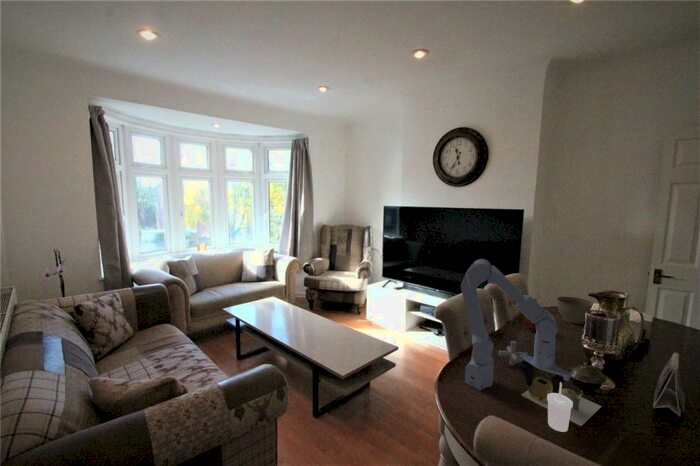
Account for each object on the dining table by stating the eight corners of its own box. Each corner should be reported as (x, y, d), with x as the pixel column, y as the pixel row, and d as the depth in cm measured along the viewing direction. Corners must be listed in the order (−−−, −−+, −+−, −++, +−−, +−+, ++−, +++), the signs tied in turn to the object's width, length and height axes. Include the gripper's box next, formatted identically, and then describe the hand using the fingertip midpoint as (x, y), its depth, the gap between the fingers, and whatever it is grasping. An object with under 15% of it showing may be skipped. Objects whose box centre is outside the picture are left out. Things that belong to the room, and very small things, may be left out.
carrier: (580, 429, 89) (582, 416, 88) (520, 397, 103) (521, 386, 102) (601, 409, 97) (602, 397, 96) (543, 382, 111) (543, 372, 110)
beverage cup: (546, 418, 93) (550, 374, 92) (571, 428, 89) (575, 382, 88) (542, 429, 89) (546, 383, 87) (569, 440, 85) (572, 392, 83)
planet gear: (547, 406, 97) (548, 391, 96) (524, 394, 103) (525, 379, 102) (558, 397, 101) (559, 383, 100) (535, 386, 107) (536, 372, 106)
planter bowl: (599, 328, 156) (601, 307, 155) (563, 325, 160) (564, 305, 159) (583, 316, 172) (585, 297, 170) (550, 314, 175) (552, 295, 174)
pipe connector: (530, 374, 116) (532, 349, 115) (501, 372, 118) (503, 346, 117) (521, 361, 126) (523, 337, 124) (495, 358, 128) (496, 335, 126)
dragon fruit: (549, 338, 149) (522, 333, 158) (553, 324, 153) (527, 320, 162) (543, 327, 146) (517, 322, 155) (548, 312, 150) (522, 309, 159)
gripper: (575, 356, 96) (572, 397, 98) (527, 339, 108) (525, 376, 110) (565, 363, 93) (562, 406, 94) (516, 344, 105) (514, 382, 106)
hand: (541, 390), depth 102 cm, fingers open, 7 cm apart
